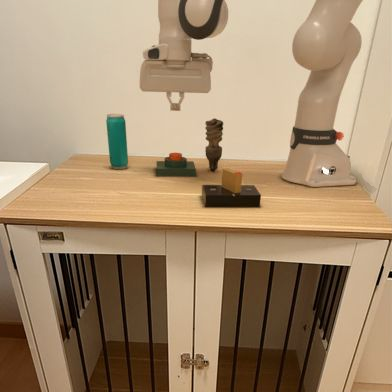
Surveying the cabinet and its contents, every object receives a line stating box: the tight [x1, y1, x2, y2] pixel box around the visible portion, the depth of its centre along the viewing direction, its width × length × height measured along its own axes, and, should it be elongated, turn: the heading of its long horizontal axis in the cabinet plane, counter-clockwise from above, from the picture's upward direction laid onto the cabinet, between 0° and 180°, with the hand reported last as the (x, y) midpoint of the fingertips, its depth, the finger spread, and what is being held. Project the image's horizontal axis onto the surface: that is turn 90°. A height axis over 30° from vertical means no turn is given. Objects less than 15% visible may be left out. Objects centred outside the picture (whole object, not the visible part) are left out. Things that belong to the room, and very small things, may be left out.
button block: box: [155, 156, 197, 177], centre depth 129 cm, size 12×10×4 cm
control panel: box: [201, 184, 262, 208], centre depth 106 cm, size 14×11×3 cm
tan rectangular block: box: [220, 167, 243, 193], centre depth 104 cm, size 6×2×5 cm, turn 29°
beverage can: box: [105, 113, 129, 171], centre depth 128 cm, size 6×6×15 cm
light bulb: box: [204, 117, 224, 172], centre depth 128 cm, size 6×6×15 cm
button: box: [168, 152, 183, 160], centre depth 127 cm, size 4×4×2 cm
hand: (175, 110), depth 120 cm, fingers closed
